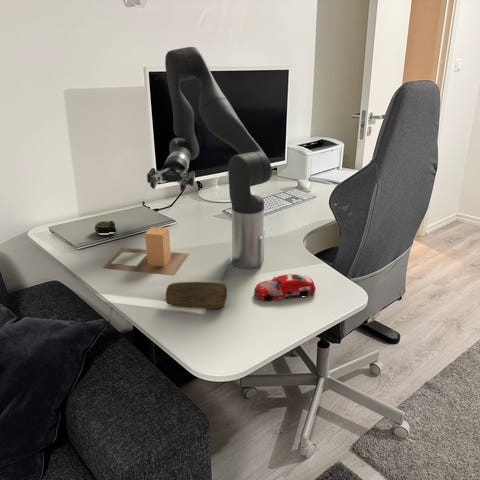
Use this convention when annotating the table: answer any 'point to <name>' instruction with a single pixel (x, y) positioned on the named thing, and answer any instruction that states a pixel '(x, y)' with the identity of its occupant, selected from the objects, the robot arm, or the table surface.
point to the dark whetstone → (196, 294)
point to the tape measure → (105, 227)
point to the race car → (285, 287)
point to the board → (143, 262)
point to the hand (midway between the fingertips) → (167, 186)
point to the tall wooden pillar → (158, 246)
